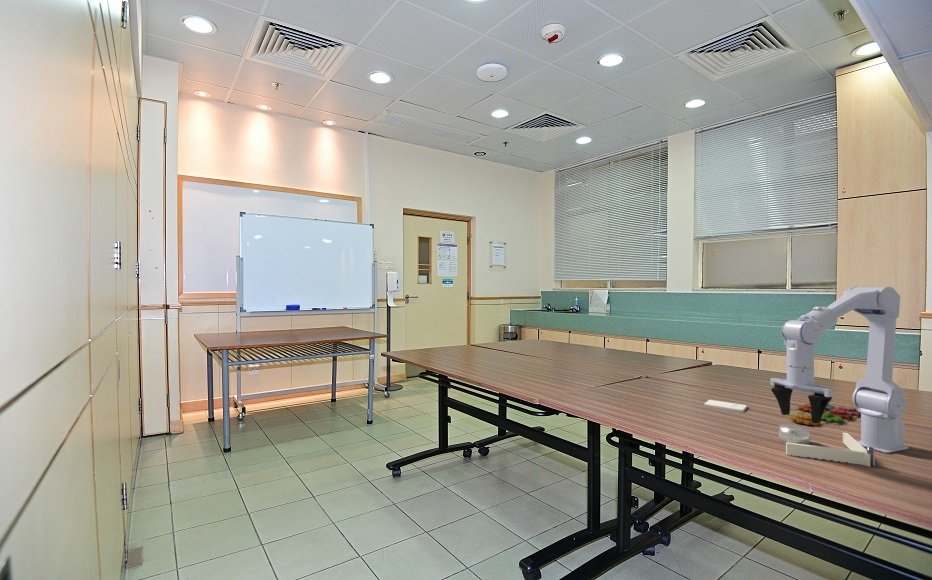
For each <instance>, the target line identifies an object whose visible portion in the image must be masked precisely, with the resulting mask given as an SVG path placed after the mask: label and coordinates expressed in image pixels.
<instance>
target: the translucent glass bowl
mask: <svg viewBox="0 0 932 580" xmlns="http://www.w3.org/2000/svg"><path fill="white" fill-rule="evenodd" d="M778 440H779V441H780V442H781V441H782V442H781V443H784V442H785V443H784V444H786V442H788V443H796V444H804V445H811V444H810V429H809V428H807V427H804V426H802V425H796V424H792V423H791V424H789V423H786V424H785V423H783V424H779V425H778Z"/></svg>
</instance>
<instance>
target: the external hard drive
mask: <svg viewBox="0 0 932 580" xmlns="http://www.w3.org/2000/svg"><path fill="white" fill-rule="evenodd" d="M703 407H708V408H713V409H719V410H726V411H733V412H739V413H744V412H745V410H747V409H748V404H747V405H745V404H741V403H734V402H727V401H722V400H721V401H720V400H715V399H708V400H707V401H706V402H704V405H703Z"/></svg>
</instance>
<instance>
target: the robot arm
mask: <svg viewBox="0 0 932 580" xmlns="http://www.w3.org/2000/svg"><path fill="white" fill-rule="evenodd" d="M900 306H901V295H900V293H898V292H897V291H896V289H895V288H893V287H891V286H884V287H883V286H882V287H879V286H877V287H875V286H873V287H869V286H868V287H867V286H866V287H864V286H861V287H859V286H851V287H849V288H848V289H846V290H844V291H843V293H842V296H840V297H839V298H837V299H836V300H835V301H833V302H832V303H831V304H829V305H828V306H813V308H812V310H810V311H809V312H808V313H806V314H803V315H800V316H799V318H797V319H796V320H793V319H791V320H788V321H786V322H785V323H784V324H783V325H782V328H781V330H780V336H781V339H783V344H784V346H785V349H786V378H778V377H771V378H770V379H769V381H770V384H769V385H770V386H773V387H771V388H770V389H771V392H772V394H773V395H774V397H775V398H776V400H777V403H778V407H779V409H780V412H781V415H782V416H789V414H790V411H791V398H792V393H793V390H794V391H798V392H799V391H800V392H804V393H810V395H807V398H808V401H809V404H810V405H811V419H812V423H820V421H821V418H822V415H823V412H824V410H825V408H826V406H827V405H829V403H830V402H831V401H832V399H833V397H834V394H835V392H834V388H831V387H827V386H824V385H819V384H817V383H816V384H815V343H818V342H819V340H820V338H821V335H822V334H823V333H824V332H825V331H827V330H829V329H831V328H833V326H836V325H837V323H838V318H840V317H842V316H844V315H845V314H848V313H849V312H852V311H854V312H856V313H857V314H859V315H861V316H862V317H864V318H866V319H867V320H868V321H869V327H868V329H869V331H868V343H867V359H866V360H867V361H866V373H865V374H866V375H865V378H863V379H861V380H859V381H857V382H856V383H855V389H854V391H853V393H852V397H851V399H852V403H853V405H854V407H856V408H857V410H858V411H859V412H861V416H860V440H856V441H857V442H858V443H859V444H860V445H862V446H863V447H864V448H867V447H873V448H874V451H878V452H882V453H885V454H889V453H890V454H891V453H895V452H900V451H904V450H908V449H909V448H910V447H909V446H907V445H905V423H904V422H903V420H902V418H901V416H903V415H904V414H905V412H906V410H907V401H906V397H905V390H904V388H902V387H901V386H900V385H899V384H897V383H896V382H894V381H893V371H894V357H895V344H896V333H897V332H896V331H897V330H896V329H897V319H898V318H899V317H900V308H901V307H900Z"/></svg>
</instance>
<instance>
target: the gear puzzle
mask: <svg viewBox="0 0 932 580" xmlns="http://www.w3.org/2000/svg"><path fill="white" fill-rule="evenodd" d="M794 409H795V410H794V411H791V410H790V414H789V415H788V416H790V417H789V419H790V420H791V421H792V422H795V423H797V424H804V425H807V426H808V425H809V426H810V425H812V426H821V425H831V424H833V425H832V426H836V425H838V426H840V425H841V424H846V423H847V422H846V421H849V422H850V421H851V419H854V420H856V419H859V418H860V417H861V412H859V411H858V409H856V408H855V407H854V406H853V407H852V406H847V405H839V406H838V407H836V406H835V405H830V404H828V405H827V406H826V408H825V410H824V412H823V415H822V418H821V421H820V423H812V419H811V405H810V403H804V404H803V405H799V406H798V407H797V408H794ZM859 415H860V416H859ZM858 417H859V418H858ZM839 422H841V423H839ZM845 422H846V423H845ZM821 423H823V424H821ZM826 423H828V424H826Z"/></svg>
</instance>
